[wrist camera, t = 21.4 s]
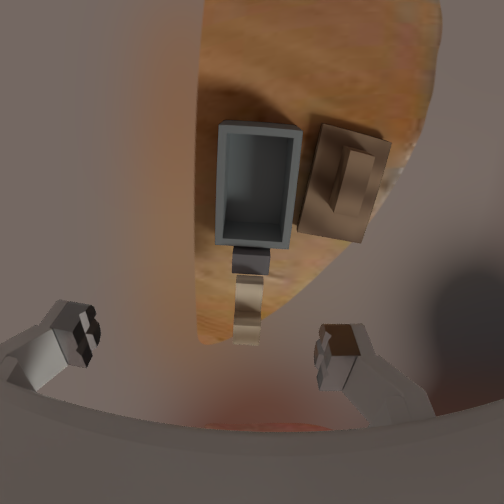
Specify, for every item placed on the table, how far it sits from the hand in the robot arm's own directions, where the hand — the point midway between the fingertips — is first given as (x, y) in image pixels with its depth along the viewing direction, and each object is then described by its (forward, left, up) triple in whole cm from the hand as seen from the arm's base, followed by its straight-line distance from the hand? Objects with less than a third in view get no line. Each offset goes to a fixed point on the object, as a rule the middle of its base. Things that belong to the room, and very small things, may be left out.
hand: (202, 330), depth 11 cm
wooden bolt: (+17, +11, -29) cm, 35 cm away
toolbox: (+5, +5, -37) cm, 38 cm away
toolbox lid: (-3, +16, -36) cm, 40 cm away
